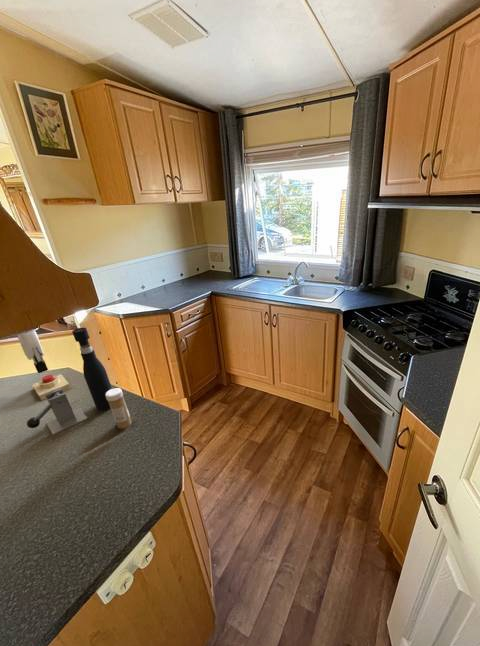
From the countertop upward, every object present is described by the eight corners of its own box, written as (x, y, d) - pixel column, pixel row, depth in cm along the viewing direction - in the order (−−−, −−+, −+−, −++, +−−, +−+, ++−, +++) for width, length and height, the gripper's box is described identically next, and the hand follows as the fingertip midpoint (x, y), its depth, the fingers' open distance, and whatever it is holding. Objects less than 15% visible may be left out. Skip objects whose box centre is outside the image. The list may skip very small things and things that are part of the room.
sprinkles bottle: (135, 421, 95) (124, 387, 89) (127, 431, 91) (116, 396, 85) (122, 421, 96) (110, 387, 90) (114, 430, 92) (101, 396, 86)
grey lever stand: (53, 437, 90) (38, 406, 85) (47, 426, 95) (33, 396, 90) (88, 420, 97) (76, 391, 92) (81, 410, 102) (69, 382, 97)
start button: (55, 380, 115) (53, 376, 114) (44, 384, 112) (43, 380, 111) (53, 377, 117) (51, 373, 116) (42, 381, 114) (40, 377, 114)
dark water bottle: (121, 405, 104) (94, 328, 91) (103, 415, 99) (73, 335, 86) (111, 399, 107) (84, 324, 94) (93, 409, 102) (63, 331, 89)
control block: (70, 388, 116) (67, 380, 114) (41, 400, 109) (36, 391, 107) (62, 378, 123) (59, 370, 121) (34, 388, 117) (30, 380, 115)
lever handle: (35, 431, 88) (25, 427, 86) (33, 427, 90) (22, 422, 88) (66, 399, 92) (57, 394, 90) (63, 395, 94) (54, 390, 92)
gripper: (7, 325, 107) (27, 368, 114) (14, 335, 97) (35, 381, 105) (32, 319, 112) (49, 361, 119) (41, 328, 102) (59, 373, 110)
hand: (42, 371), depth 112 cm, fingers closed
